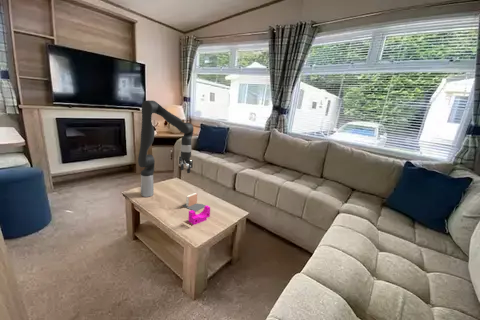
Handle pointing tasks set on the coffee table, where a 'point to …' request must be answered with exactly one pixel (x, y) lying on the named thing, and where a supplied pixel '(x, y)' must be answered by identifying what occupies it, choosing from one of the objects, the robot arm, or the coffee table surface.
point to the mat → (195, 207)
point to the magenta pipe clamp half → (199, 215)
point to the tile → (191, 199)
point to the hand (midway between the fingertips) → (185, 171)
